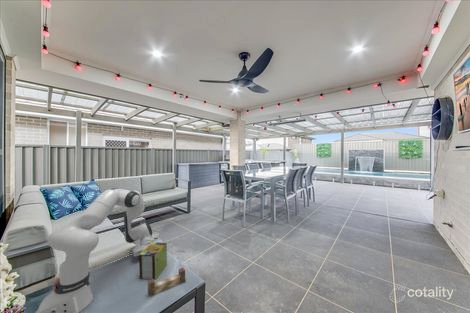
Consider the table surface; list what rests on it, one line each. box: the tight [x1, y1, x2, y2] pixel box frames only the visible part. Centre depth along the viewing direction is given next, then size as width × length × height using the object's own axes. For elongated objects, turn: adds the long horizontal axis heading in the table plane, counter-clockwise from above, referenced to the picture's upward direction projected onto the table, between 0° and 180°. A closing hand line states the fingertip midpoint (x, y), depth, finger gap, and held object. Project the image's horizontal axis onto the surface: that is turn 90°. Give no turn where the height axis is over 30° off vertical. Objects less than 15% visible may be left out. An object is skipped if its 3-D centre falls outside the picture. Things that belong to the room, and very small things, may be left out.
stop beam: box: [147, 267, 186, 297], centre depth 104 cm, size 20×4×7 cm, turn 124°
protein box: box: [138, 242, 168, 281], centre depth 117 cm, size 10×15×16 cm
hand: (150, 253), depth 126 cm, fingers closed
